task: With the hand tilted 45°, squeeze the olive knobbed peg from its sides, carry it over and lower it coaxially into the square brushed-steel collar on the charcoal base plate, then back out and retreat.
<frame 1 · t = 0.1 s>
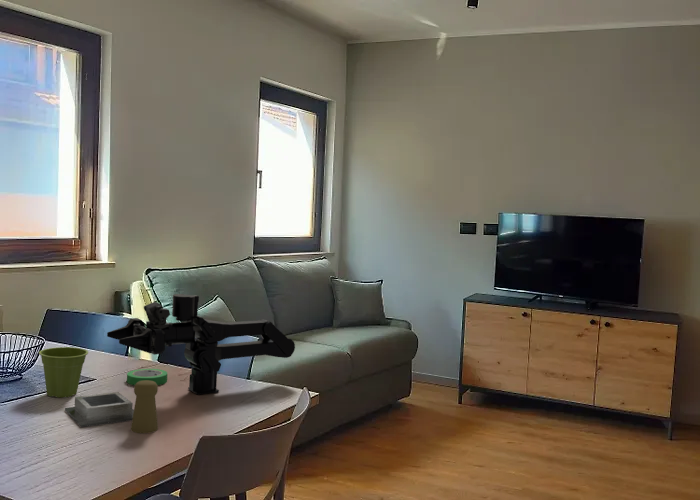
hand: (113, 337, 175), 17 cm above the table, tool horizontal, fingers open, 9 cm apart
steel collar socket: (103, 414, 167), on the table
plant pot: (62, 395, 181), on the table
tape roll: (147, 382, 198), on the table
olive knobbed peg: (144, 429, 158), on the table
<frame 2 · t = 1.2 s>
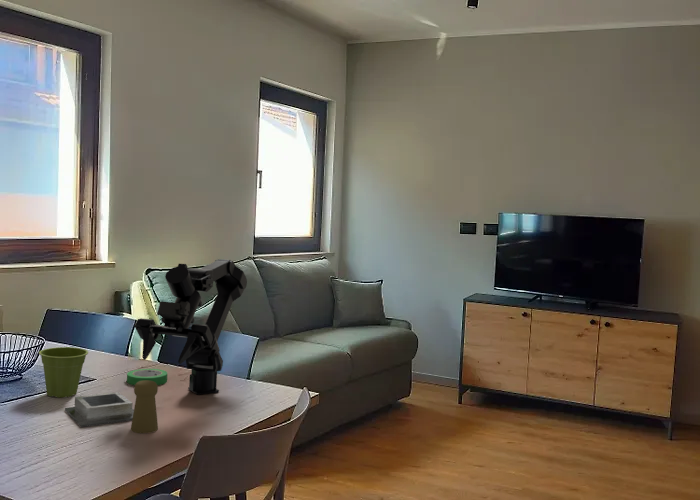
hand: (161, 360, 165), 14 cm above the table, tool tilted 45°, fingers open, 9 cm apart
nothing on the table moved.
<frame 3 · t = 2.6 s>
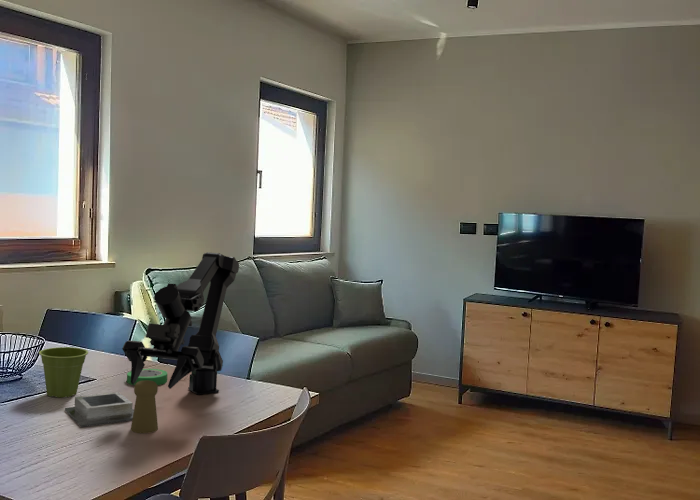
hand: (150, 385, 160), 10 cm above the table, tool tilted 45°, fingers open, 9 cm apart
nothing on the table moved.
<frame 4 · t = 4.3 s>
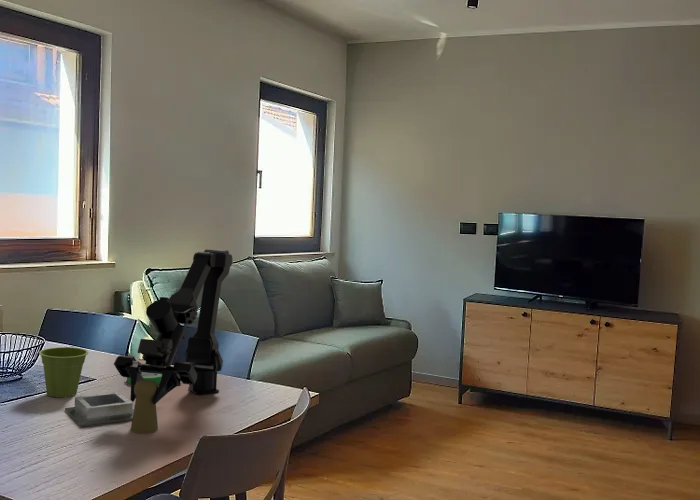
hand: (142, 402, 157), 7 cm above the table, tool tilted 45°, fingers closed on olive knobbed peg, 5 cm apart
olive knobbed peg: (144, 429, 158), on the table, touching gripper
everything else where it was.
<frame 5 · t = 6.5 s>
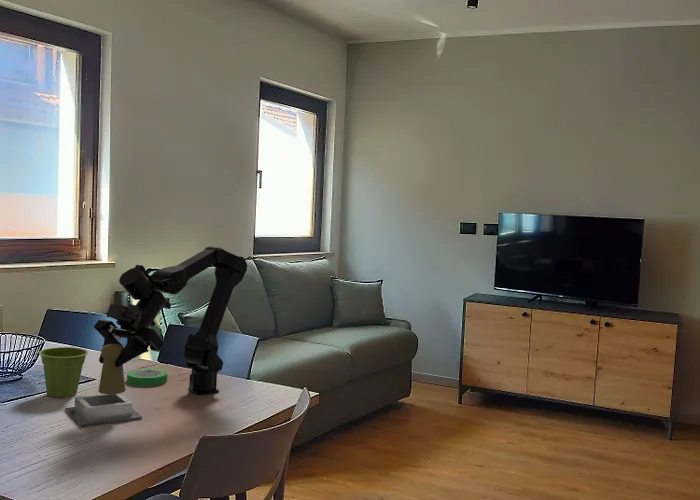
hand: (108, 364, 162), 13 cm above the table, tool tilted 45°, fingers closed on olive knobbed peg, 5 cm apart
olive knobbed peg: (111, 391, 164), point 6 cm above the table, touching gripper
everything else where it was.
when the fingers open (8 cm above the table, at t = 8.8 s): olive knobbed peg stays where it is, resting on steel collar socket.
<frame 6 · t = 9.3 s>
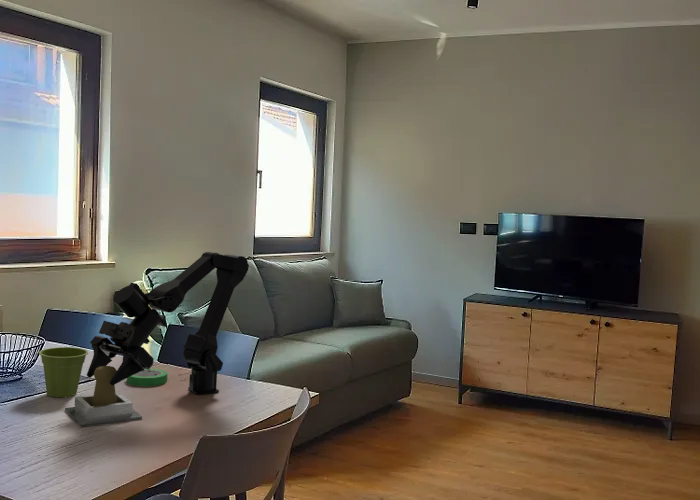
hand: (99, 380, 165), 9 cm above the table, tool tilted 45°, fingers open, 9 cm apart
olive knobbed peg: (103, 412, 167), resting on steel collar socket
everything else where it was.
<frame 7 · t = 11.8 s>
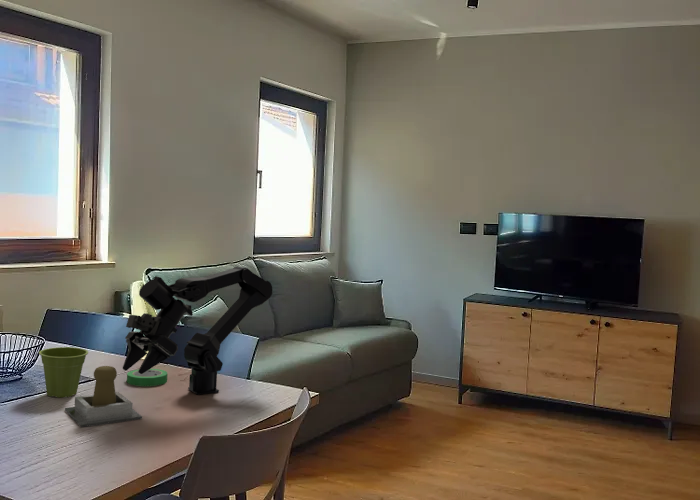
hand: (131, 371, 174), 9 cm above the table, tool tilted 40°, fingers open, 9 cm apart
nothing on the table moved.
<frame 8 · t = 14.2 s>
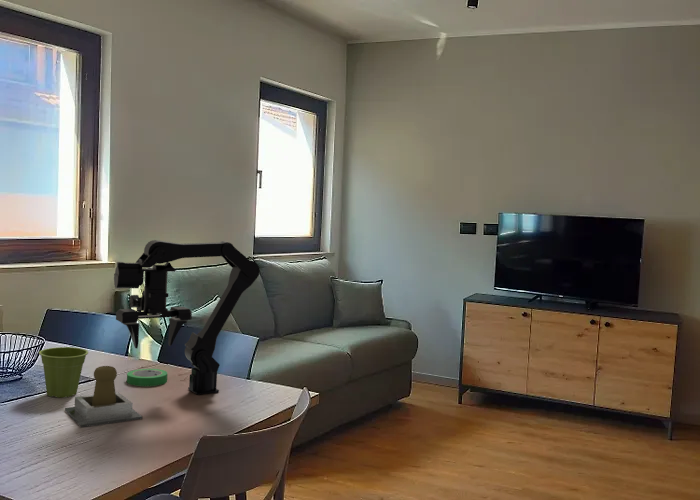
hand: (153, 346, 184), 13 cm above the table, tool pointing down, fingers open, 9 cm apart
nothing on the table moved.
at the end: olive knobbed peg 0.2 cm off-centre on the steel collar socket, point 0.4 cm above the steel collar socket's base; olive knobbed peg tilted 0°; the gripper is holding nothing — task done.
